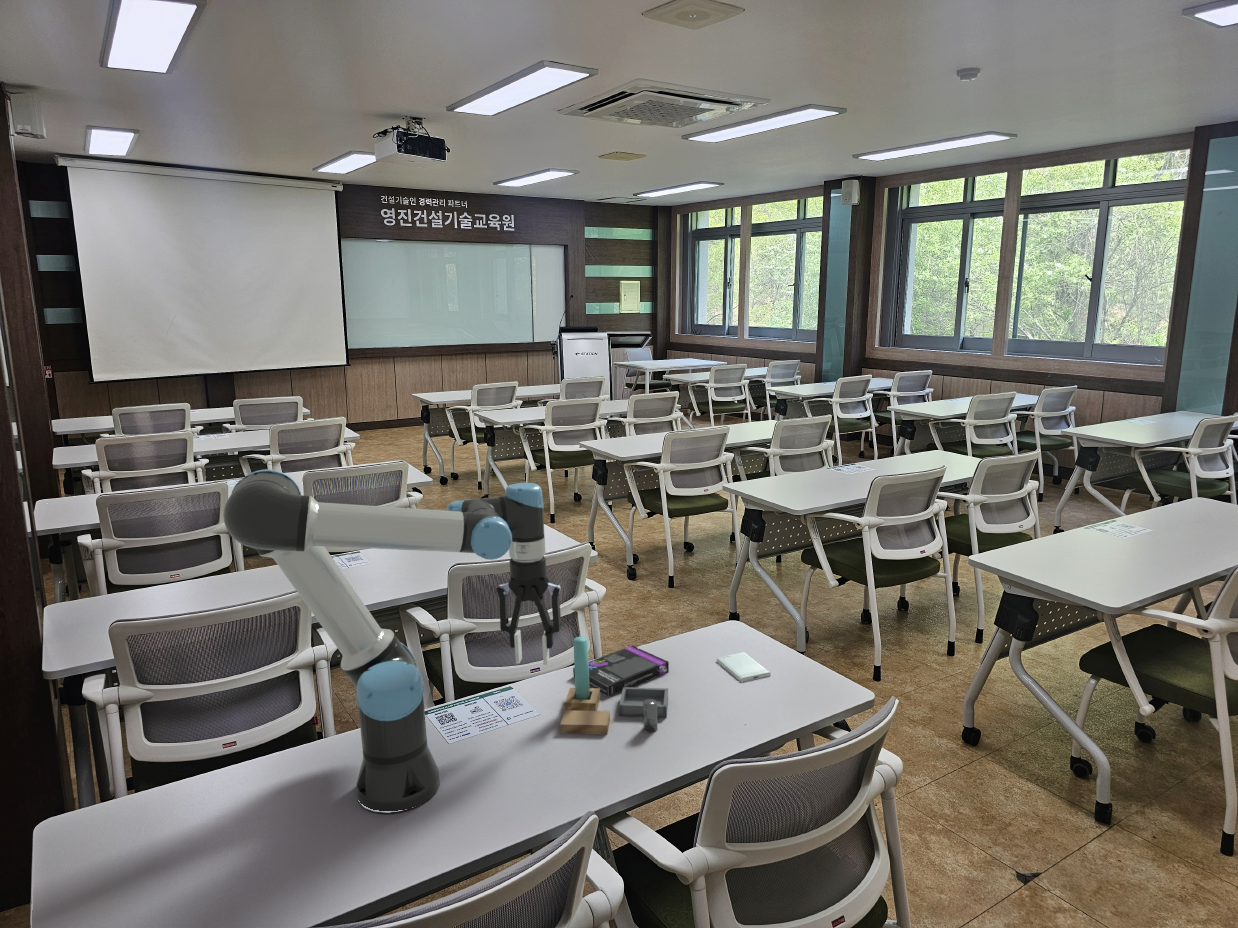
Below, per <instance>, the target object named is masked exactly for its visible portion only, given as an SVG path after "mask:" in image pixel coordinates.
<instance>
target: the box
mask: <svg viewBox="0 0 1238 928" xmlns="http://www.w3.org/2000/svg"><path fill="white" fill-rule="evenodd" d="M638 648H639V647H637V646H635V645H630V646H626V647H625V648H621V649H619V650H617V651H614V652H611V653H609V654H606V655H603V656H600V657H598V658H595V659H593V660H592V659H591V660H590V661H589V688H600V694H603V695H604V696H606V697H608V698H609V697H612V696H615V695H617V694H619V693H622V690H623V687H633V688H635V687H636V686H639V685H641V684H643V683H646V682H648V681H650V680H652V679H655V678H659V676H662V675H664V674H667V673H669V671H670V670H669V669H670V668H669V665H670V663H669V661H668V660H667V659H663V658H661V657H659V656H656V655H654V654H652V653H650V652H647V651H645V650H643V649H641V648H639V649H638ZM572 672H573V673H572V674H573V675H572V676H573V678H574V679H575V668H574V667H573V668H572Z"/></svg>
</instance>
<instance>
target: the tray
mask: <svg viewBox="0 0 1238 928" xmlns="http://www.w3.org/2000/svg"><path fill="white" fill-rule="evenodd" d="M647 699H653V700H656V701H657V718H667V717H668V706H669V688H667V687H665V688H661V687H623V690H622V692H621V696H620V700H619V704H618V709H619V710H618V713H619V714H618V715H619V717H636V718H637V717H638V718H643V701H645V700H647Z"/></svg>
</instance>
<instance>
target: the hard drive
mask: <svg viewBox="0 0 1238 928" xmlns="http://www.w3.org/2000/svg"><path fill="white" fill-rule="evenodd" d="M716 662H717V663H718V664H719V665H720V666H721V667H723V668H724V669H725V670H726V671H727V672H729V674H731V675H732V676H733V677H735V679H737V681H739V682H740V683H744V682H747V681H753V680H757V679H762V678H767V677H771V672H770V671H769V670H767V668H765V667H764V666H763V665H761V664H760V663H759V662H758V661H756V660H755V659H753V657H751V656H750V655H749V654H747V653H746V652H744V651H741V652H737V653H733V654H728V655H723V656H719V657H716Z"/></svg>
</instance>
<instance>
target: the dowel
mask: <svg viewBox="0 0 1238 928" xmlns="http://www.w3.org/2000/svg"><path fill="white" fill-rule="evenodd" d="M572 642H573V658H574V659H573V661H574V662H573V663H574V664H573V665H574V667H573V668H575V678H574V688H575V694H576V699H579V700H590V690H589V688H590V686H589V662H590V661H589V639H588V637H586V636H577V637H575V638H574V639H573V641H572Z"/></svg>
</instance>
